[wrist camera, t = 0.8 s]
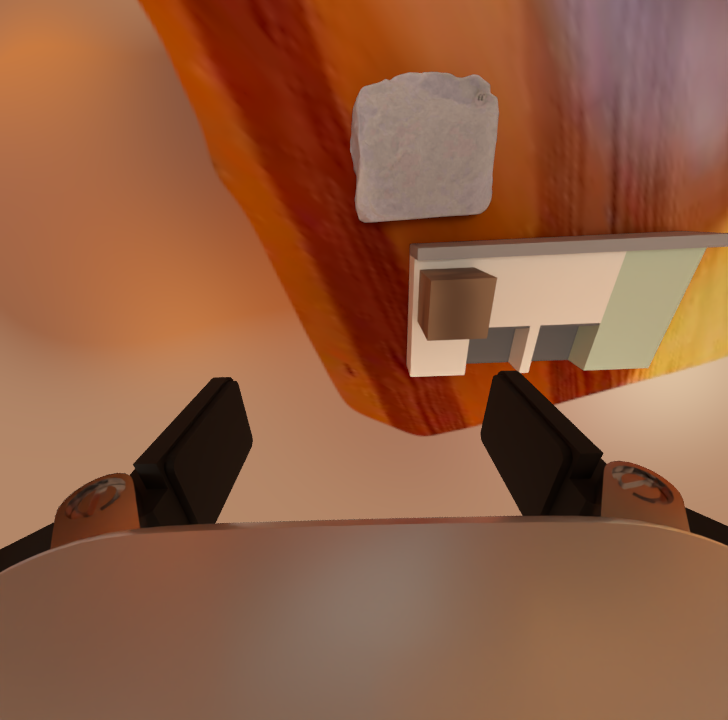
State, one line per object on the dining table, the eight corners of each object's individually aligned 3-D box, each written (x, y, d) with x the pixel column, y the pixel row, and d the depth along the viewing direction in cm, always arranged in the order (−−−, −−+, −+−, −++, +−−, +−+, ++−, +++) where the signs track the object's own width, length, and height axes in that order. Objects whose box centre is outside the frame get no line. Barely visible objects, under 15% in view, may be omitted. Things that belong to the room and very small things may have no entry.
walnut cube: (474, 267, 26) (497, 277, 21) (467, 319, 28) (486, 338, 23) (419, 269, 26) (431, 280, 21) (417, 321, 28) (427, 340, 23)
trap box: (679, 231, 27) (734, 233, 23) (625, 355, 33) (661, 374, 29) (410, 243, 27) (418, 248, 23) (406, 364, 34) (412, 384, 30)
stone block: (345, 109, 24) (356, 232, 27) (342, 68, 20) (356, 222, 22) (481, 96, 24) (478, 221, 27) (510, 52, 20) (504, 208, 22)
